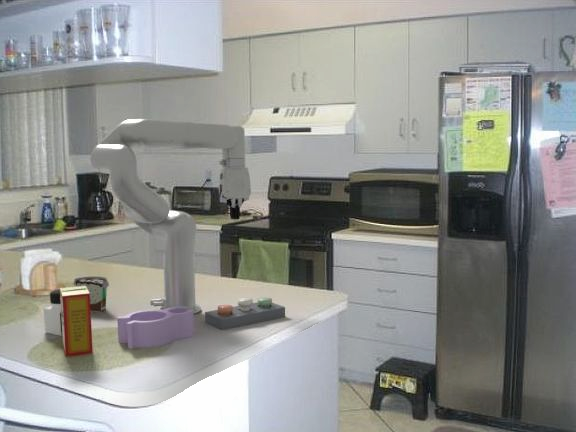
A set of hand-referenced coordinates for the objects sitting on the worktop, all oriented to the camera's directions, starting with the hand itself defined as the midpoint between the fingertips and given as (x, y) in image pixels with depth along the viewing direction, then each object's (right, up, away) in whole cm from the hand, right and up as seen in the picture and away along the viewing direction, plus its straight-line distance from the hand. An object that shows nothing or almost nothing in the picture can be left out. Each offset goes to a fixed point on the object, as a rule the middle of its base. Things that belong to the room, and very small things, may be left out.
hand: (235, 218), depth 220 cm
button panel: (+5, -30, -22) cm, 38 cm away
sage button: (+11, -29, -18) cm, 36 cm away
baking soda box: (-37, -34, -48) cm, 70 cm away
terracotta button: (-1, -30, -26) cm, 40 cm away
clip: (-18, -33, -39) cm, 54 cm away
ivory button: (+5, -29, -22) cm, 37 cm away
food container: (-44, -29, -8) cm, 53 cm away
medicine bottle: (-46, -32, -32) cm, 65 cm away
